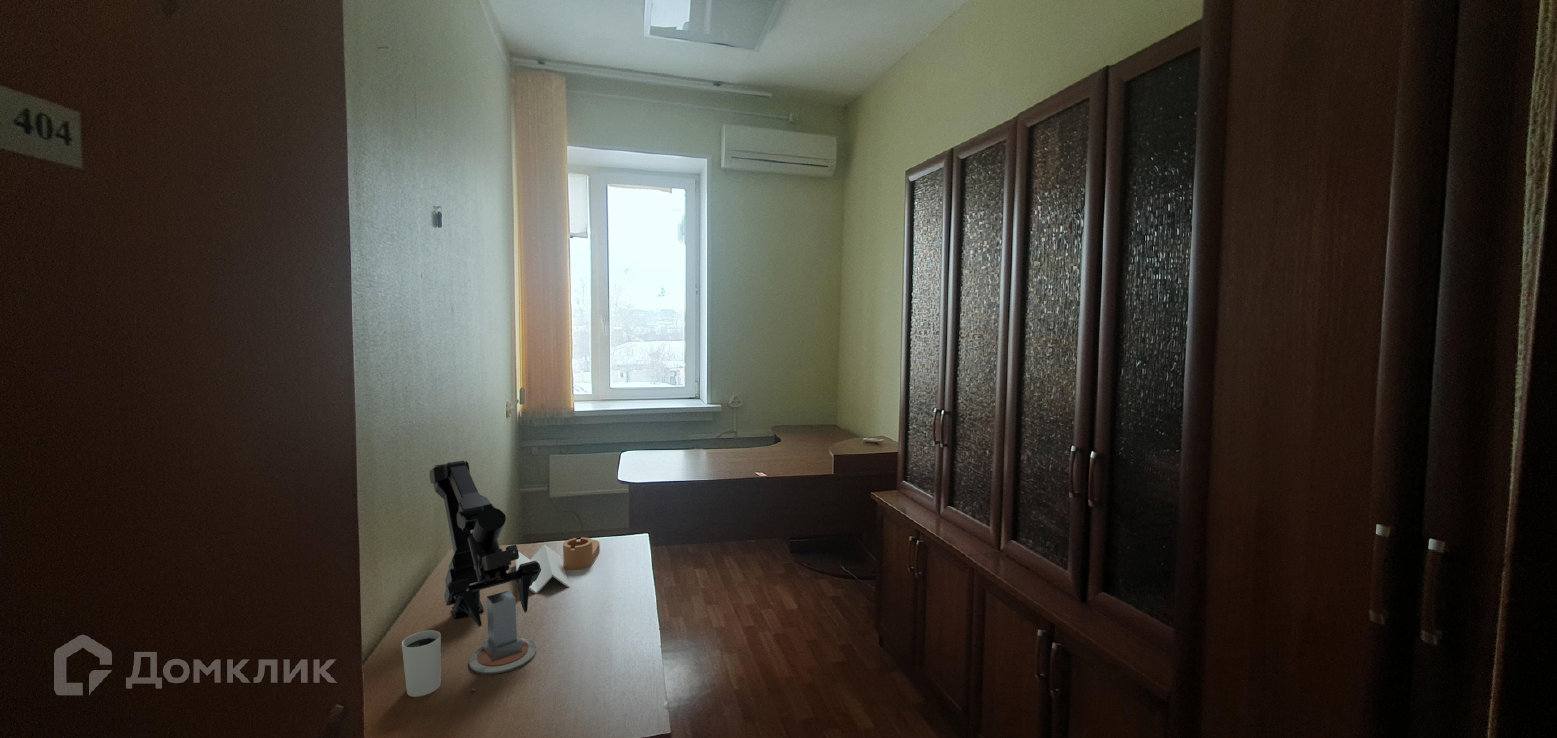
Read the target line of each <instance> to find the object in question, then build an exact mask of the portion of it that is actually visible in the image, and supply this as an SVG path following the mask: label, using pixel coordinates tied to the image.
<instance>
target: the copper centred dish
mask: <svg viewBox="0 0 1557 738" xmlns="http://www.w3.org/2000/svg"><path fill="white" fill-rule="evenodd" d="M519 638H520V639H521V640H522V652H521V653H518V654H515V655H512V656H509V657H506V658H503V659H500V660H497V661H494V662H492V661H491V660H490V658H489V657H488V655H487V654H486V652H485V651H484V645H482V646H481V647H479V648H478V649H476V651H474V652H473V653H472V654H471V656H470V657H469V661H468V662H469V663H468V664H469V669H470V670H471V671H472V672H474V673H476V674H480V675H498V674H503V673H508V672H511V671H515V670H517V669H519V668H521V667H523V666H524V665H526V664H527V663H529V662H530V661H532V660H533V658H534V657H535V655H536V653H537V646H536V643H535V642H534V641H532V640H530V639H528V638H524V637H519Z"/></svg>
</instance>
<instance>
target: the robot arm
mask: <svg viewBox="0 0 1557 738" xmlns="http://www.w3.org/2000/svg"><path fill="white" fill-rule="evenodd" d="M470 469H471V468H470V463H469V462H468V461H467V460H456V461H450V462H449V461H447V463H440V464H436V465H434V467H433V468H431V469H430V470H429V480H430V484H432V485H433V488H434V492H435V493H436V494H437V495H438V496H439V497H440V498H442V499H443V501H444V502H443V503H444V507H445V513H446V517H447V523H448V529H449V533H450V540H451V545H452V549H453V554H452V557H451V559H450V561H449V564H448V569H447V572H446V575H445V579H444V582H445V591H444V602H445V606H452V605H453V606H452V607H451V611H452V614H453V618H454V619H459V618H463V617H467V616H469V618H471V620H472V621H473V622H474V623H475V625H477V627H478V628H479V627H481V626H482V619H481V618H482V617H481V616H480V613H484V612H485V609H484V606H483V604H482V602H481V591H482V590H485V589H488V588H493V587H496V586H499V585H503V584H507V583H511V582H514V581H516V582H517V584H518V586H517V592H518V596H519V600H520V604H521V608H522V610H523V612H524V614H525V613H527V612H528V608H529V606H528V604H529V591H530V590H529V587H530V586H531V585H532V583H533V582H534V581H536V580H537V578H538V576H539V574H540V572H541V567H540V564H539V563H538V562H537V561H531V562H527V563H523V564H520V566H519V568H518V570H517V571H516V570H515V571H511V572H507V571H509V569H510V568H511V567H510V566H511V565H512V562H513V561H515V560H517V559H518V558H519V553H518V551H519V549H518V547H517V546H518V545H517V544H511V545H508V546H506V547H505V550H502V548H501V547H500V543H499V541H498V539H499V538H500V537H501V534H502V532H503V530H504V529H503V528H504V526H505V523H506V520H507V519H506V518H507V517H506V514H505V513H504V512H503V510H501V509H500V508H497V507H495V505H493V503H491V501H490V500H489V498H488V497H486V496H484V495H482V494H480V493H479V490H478V489H477V486H476V484H475V482H474V480H473V477H472V475H471V471H470Z"/></svg>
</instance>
